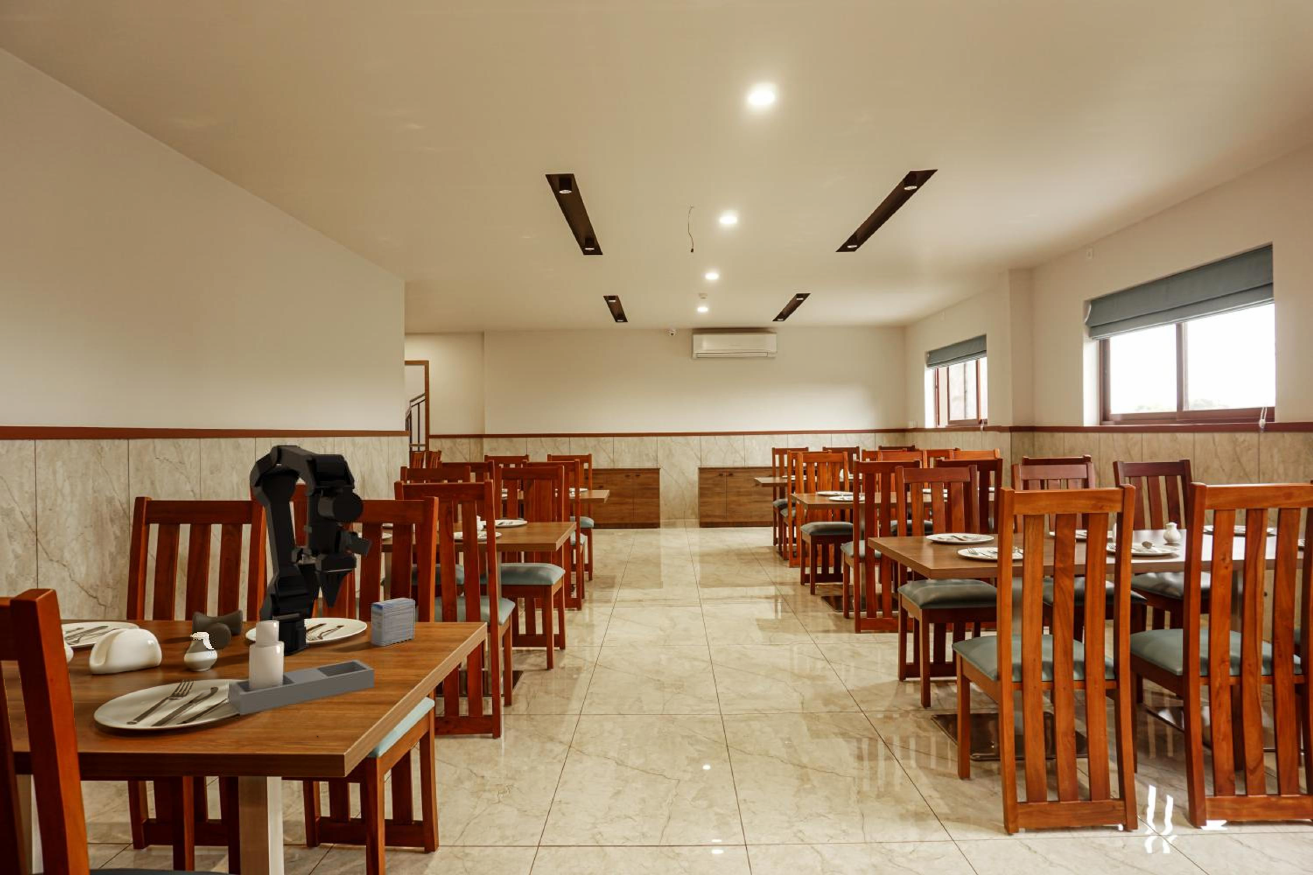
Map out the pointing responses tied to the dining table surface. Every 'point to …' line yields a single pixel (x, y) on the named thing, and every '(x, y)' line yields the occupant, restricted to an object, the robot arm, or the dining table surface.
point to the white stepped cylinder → (266, 657)
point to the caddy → (303, 686)
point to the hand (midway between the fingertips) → (322, 603)
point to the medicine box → (392, 621)
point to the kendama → (218, 627)
